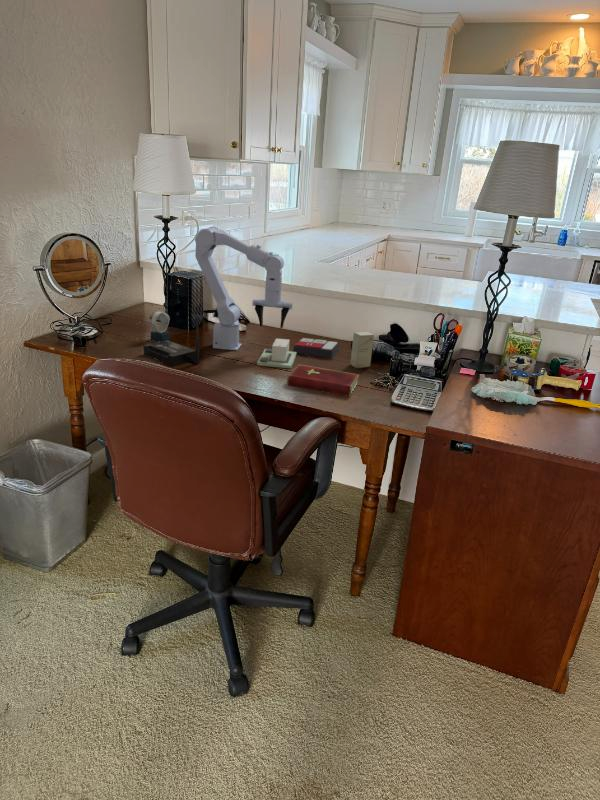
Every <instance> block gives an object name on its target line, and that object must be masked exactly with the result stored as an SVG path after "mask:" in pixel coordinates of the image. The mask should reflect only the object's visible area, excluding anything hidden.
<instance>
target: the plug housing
mask: <svg viewBox="0 0 600 800" xmlns="http://www.w3.org/2000/svg"><path fill="white" fill-rule="evenodd" d="M271 349H272V360H271V361H280V362H286V359H287V357H288V354H289V351H290V339H286V338H275V340H274V341H273V344H272V346H271Z"/></svg>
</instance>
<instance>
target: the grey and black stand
mask: <svg viewBox="0 0 600 800" xmlns="http://www.w3.org/2000/svg"><path fill="white" fill-rule="evenodd" d="M195 332H196V333H195V349H194V348H191V347H188V346H185V345H182V344H179V343H176V342H174V341H171V340H165V341H160V342H157V341H155V342H152V343H147V344H143V355H144V356H147V357H149V356H150V357H149V358H151V357H152V358H151V359H154V358H156V359H158V360H157V361H159V360H160V361H159V362H161V361H163V362H162V363H164V362H166V363H168V364H167V365H169V366H171V367H174V365H176V366H179V365H183V364H187V363H190V362H192V363H194V364H195V365H200V333H199V316H196V331H195ZM156 359H155V360H156ZM166 363H165V364H166ZM178 364H179V365H178Z"/></svg>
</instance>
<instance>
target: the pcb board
mask: <svg viewBox="0 0 600 800" xmlns="http://www.w3.org/2000/svg"><path fill="white" fill-rule="evenodd" d="M297 355H298V353H297V352H294V351H291V350H289V354H288V357H287V359H286V362H280V361H271V360H272V348H267V347H266V348H264V350H263V352H262V354H261V355H260V356H259V358H258V360H257V362H256V366H263V367H273V368H274V367H275V368H281V369H290V370H291V369H292V367H293V365H294V362H295V360H296V356H297Z"/></svg>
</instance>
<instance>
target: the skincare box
mask: <svg viewBox="0 0 600 800" xmlns="http://www.w3.org/2000/svg"><path fill="white" fill-rule="evenodd" d="M374 337H375V334H374V333H372V332H369V331H359V332H358V331H356V332H353V337H352V345H351V355H350V361H349V362H350V363H349V365H351V366H353V367H354V368H356V369H358V368H361V369H362V368H369V367H371V363H372V362H371V361H372V354H373V347H374Z"/></svg>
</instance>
